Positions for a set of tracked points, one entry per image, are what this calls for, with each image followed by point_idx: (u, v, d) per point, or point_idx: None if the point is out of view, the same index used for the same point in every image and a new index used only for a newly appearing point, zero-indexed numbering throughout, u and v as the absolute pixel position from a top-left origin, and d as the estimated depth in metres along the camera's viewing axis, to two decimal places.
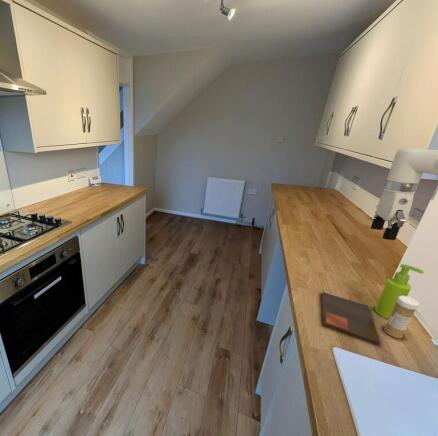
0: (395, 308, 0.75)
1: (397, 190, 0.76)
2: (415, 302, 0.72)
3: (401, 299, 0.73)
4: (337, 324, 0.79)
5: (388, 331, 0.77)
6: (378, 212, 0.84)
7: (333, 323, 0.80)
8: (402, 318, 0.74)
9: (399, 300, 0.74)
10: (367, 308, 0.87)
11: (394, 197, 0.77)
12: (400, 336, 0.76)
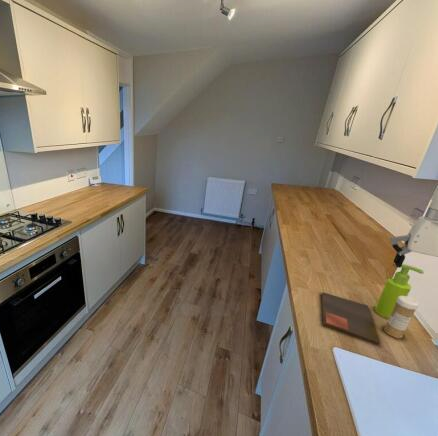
0: (395, 308, 0.75)
1: None
2: (415, 302, 0.72)
3: (401, 299, 0.73)
4: (337, 324, 0.79)
5: (388, 331, 0.77)
6: (421, 250, 0.67)
7: (333, 323, 0.80)
8: (402, 318, 0.74)
9: (399, 300, 0.74)
10: (367, 308, 0.87)
11: None
12: (400, 336, 0.76)
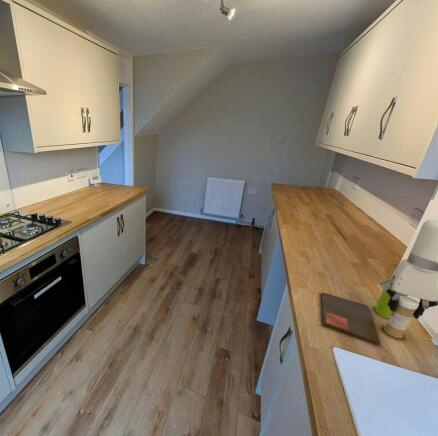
0: None
1: None
2: (415, 302, 0.72)
3: (401, 299, 0.73)
4: (337, 324, 0.79)
5: (388, 331, 0.77)
6: (405, 291, 0.71)
7: (333, 323, 0.80)
8: (402, 318, 0.74)
9: (399, 300, 0.74)
10: (367, 308, 0.87)
11: None
12: (400, 336, 0.76)
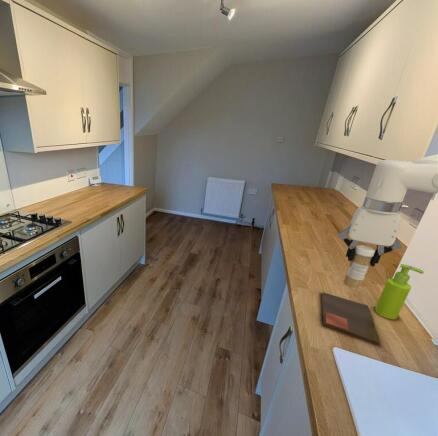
0: (353, 258, 0.73)
1: (397, 211, 0.64)
2: (371, 249, 0.70)
3: (358, 247, 0.72)
4: (337, 324, 0.79)
5: (346, 283, 0.75)
6: (360, 238, 0.70)
7: (333, 323, 0.80)
8: (359, 267, 0.72)
9: (356, 248, 0.72)
10: (367, 308, 0.87)
11: (396, 219, 0.64)
12: (358, 287, 0.74)
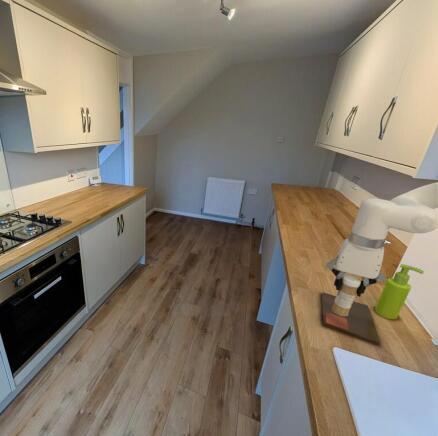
0: (340, 287, 0.77)
1: (381, 247, 0.68)
2: (357, 280, 0.74)
3: (345, 278, 0.75)
4: (337, 324, 0.79)
5: (335, 310, 0.79)
6: (347, 269, 0.73)
7: (333, 323, 0.80)
8: (345, 296, 0.76)
9: (343, 279, 0.76)
10: (367, 308, 0.87)
11: (379, 254, 0.68)
12: (345, 314, 0.77)
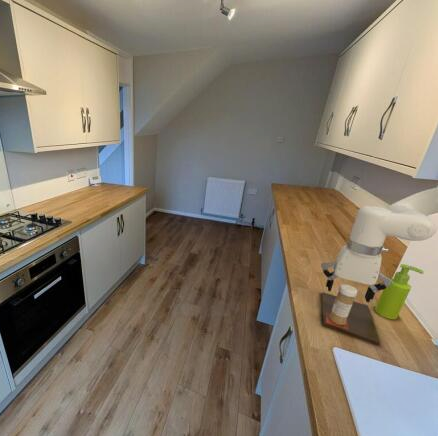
0: (337, 296, 0.78)
1: (378, 254, 0.68)
2: (354, 290, 0.75)
3: (342, 287, 0.77)
4: (337, 324, 0.79)
5: (332, 318, 0.80)
6: (345, 276, 0.74)
7: (333, 323, 0.80)
8: (342, 305, 0.77)
9: (340, 288, 0.77)
10: (367, 308, 0.87)
11: (377, 261, 0.69)
12: (342, 323, 0.79)
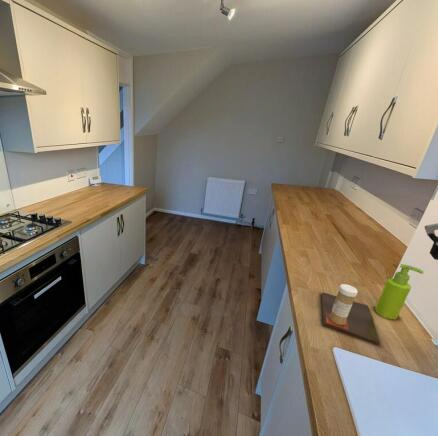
0: (337, 296, 0.78)
1: None
2: (354, 290, 0.75)
3: (342, 287, 0.77)
4: (337, 324, 0.79)
5: (332, 318, 0.80)
6: None
7: (333, 323, 0.80)
8: (342, 305, 0.77)
9: (340, 288, 0.77)
10: (367, 308, 0.87)
11: None
12: (342, 323, 0.79)
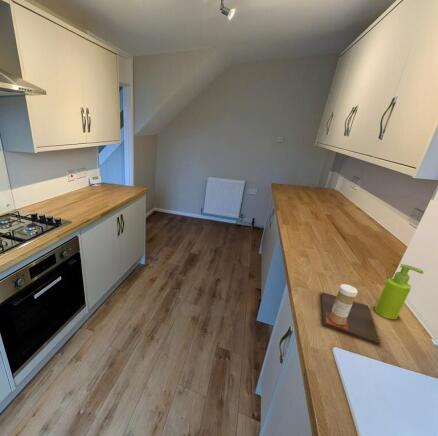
0: (337, 296, 0.78)
1: None
2: (354, 290, 0.75)
3: (342, 287, 0.77)
4: (337, 324, 0.79)
5: (332, 318, 0.80)
6: None
7: (333, 323, 0.80)
8: (342, 305, 0.77)
9: (340, 288, 0.77)
10: (367, 308, 0.87)
11: None
12: (342, 323, 0.79)
